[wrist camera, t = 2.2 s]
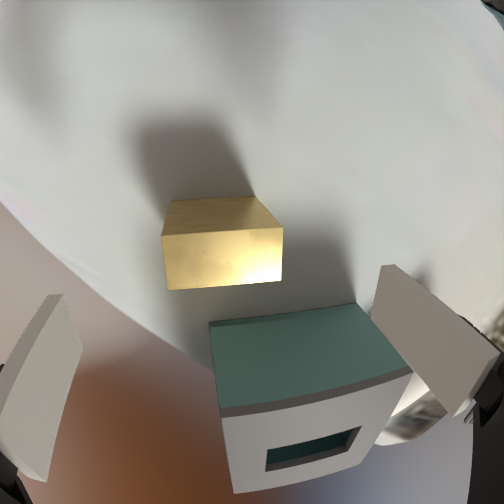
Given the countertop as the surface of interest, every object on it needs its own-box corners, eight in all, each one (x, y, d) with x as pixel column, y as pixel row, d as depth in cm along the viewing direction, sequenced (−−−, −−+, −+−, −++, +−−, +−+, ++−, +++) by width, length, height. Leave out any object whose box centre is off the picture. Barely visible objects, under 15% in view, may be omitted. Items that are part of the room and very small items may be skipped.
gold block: (174, 241, 21) (168, 289, 15) (171, 201, 20) (160, 236, 14) (255, 235, 22) (280, 280, 16) (255, 196, 21) (282, 227, 15)
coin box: (208, 321, 24) (221, 418, 15) (356, 302, 27) (414, 372, 18) (221, 422, 31) (234, 493, 22) (330, 403, 33) (359, 463, 24)
